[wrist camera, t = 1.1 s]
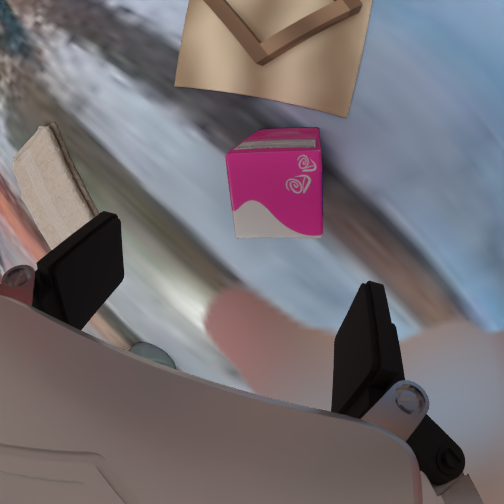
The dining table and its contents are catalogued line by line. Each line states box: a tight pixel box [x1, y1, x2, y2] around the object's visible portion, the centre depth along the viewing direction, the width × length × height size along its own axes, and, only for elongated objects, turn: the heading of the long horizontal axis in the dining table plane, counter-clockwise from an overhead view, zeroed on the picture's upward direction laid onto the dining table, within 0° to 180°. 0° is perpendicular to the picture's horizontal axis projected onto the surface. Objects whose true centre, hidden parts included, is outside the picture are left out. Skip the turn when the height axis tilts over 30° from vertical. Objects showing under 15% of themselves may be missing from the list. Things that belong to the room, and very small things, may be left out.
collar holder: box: [175, 0, 372, 118], centre depth 19 cm, size 16×18×4 cm
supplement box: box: [226, 127, 323, 238], centre depth 23 cm, size 6×6×12 cm
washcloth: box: [12, 122, 99, 250], centre depth 35 cm, size 12×18×3 cm, turn 25°
